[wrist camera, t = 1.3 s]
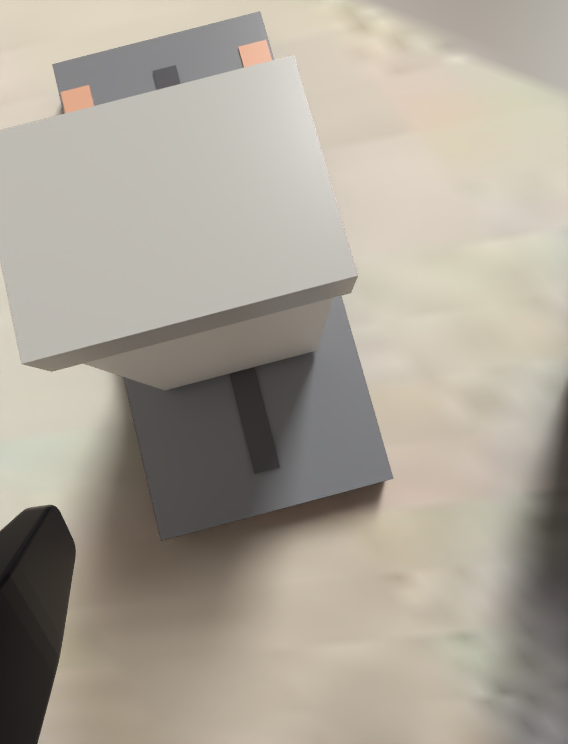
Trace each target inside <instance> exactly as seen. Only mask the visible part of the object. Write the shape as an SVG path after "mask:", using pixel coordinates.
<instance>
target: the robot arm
mask: <svg viewBox="0 0 568 744" xmlns="http://www.w3.org/2000/svg"><path fill="white" fill-rule="evenodd" d="M75 555H76V550H75V544H74V540H73V538H72V536H71V534H70V532H69V530H68V527H67V525H66V523H65V521H64V519H63V517H62V515H61V513H60V511H59V509H58V508H57V507H56V506H54V505H45V506H38V507H30V508H27V509H25V510H24V511H22V512H21V513H20V514H19V515H18V516H16V517H15V518H14V519H13V520H12V521H11V522H10V523H9V524H8V525H6V526H5V527H4V528H3V529H2V530H1V531H0V744H37V743H38V739H39V736H40V732H41V728H42V724H43V720H44V717H45V713H46V709H47V705H48V701H49V698H50V694H51V690H52V686H53V682H54V678H55V675H56V670H57V666H58V662H59V658H60V652H61V647H62V641H63V635H64V628H65V622H66V615H67V609H68V602H69V596H70V589H71V582H72V576H73V569H74V563H75Z"/></svg>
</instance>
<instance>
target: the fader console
mask: <svg viewBox="0 0 568 744" xmlns="http://www.w3.org/2000/svg"><path fill="white" fill-rule="evenodd" d="M272 60H274V58H273V54H272V51H271V47H270V44H269V40H268V37H267V33H266V30H265V26H264V23H263V19H262V16H261V12H256V13H252V14H248V15H244V16H240V17H236V18H232V19H228V20H224V21H221V22H217V23H213V24H209V25H205V26H201V27H197V28H193V29H189V30H185V31H181V32H177V33H173V34H169V35H166V36H162V37H158V38H154V39H150V40H146V41H142V42H138V43H134V44H130V45H126V46H122V47H118V48H114V49H111V50H107V51H103V52H99V53H95V54H91V55H87V56H83V57H79V58H75V59H71V60H67V61H63V62H60V63H56V64H52V65H53V69H54V74H55V78H56V82H57V87H58V91H59V96H60V100H61V104H62V109H63V113H64V114H65V113H69V112H73V111H77V110H81V109H85V108H88V107H92V106H96V105H100V104H104V103H108V102H112V101H116V100H120V99H124V98H128V97H131V96H135V95H139V94H143V93H147V92H151V91H155V90H159V89H163V88H167V87H170V86H174V85H178V84H182V83H186V82H190V81H194V80H198V79H202V78H206V77H210V76H213V75H217V74H221V73H225V72H229V71H233V70H237V69H241V68H245V67H249V66H253V65H256V64H260V63H264V62H268V61H272ZM124 381H125V385H126V390H127V394H128V398H129V403H130V407H131V412H132V416H133V420H134V425H135V429H136V433H137V438H138V442H139V447H140V451H141V455H142V460H143V464H144V469H145V473H146V477H147V482H148V486H149V491H150V495H151V499H152V504H153V508H154V512H155V517H156V521H157V526H158V530H159V534H160V539H161V541H163V540H167V539H170V538H174V537H178V536H181V535H185V534H189V533H193V532H196V531H200V530H204V529H208V528H211V527H215V526H219V525H222V524H226V523H230V522H234V521H237V520H241V519H245V518H249V517H252V516H256V515H260V514H263V513H267V512H271V511H275V510H278V509H282V508H286V507H290V506H293V505H297V504H301V503H305V502H308V501H312V500H316V499H319V498H323V497H327V496H331V495H334V494H338V493H342V492H346V491H349V490H353V489H357V488H360V487H364V486H368V485H372V484H375V483H379V482H383V481H387V480H390V479H393V475H392V472H391V468H390V465H389V461H388V458H387V454H386V451H385V447H384V444H383V440H382V437H381V433H380V430H379V426H378V423H377V419H376V416H375V412H374V409H373V405H372V402H371V398H370V395H369V391H368V388H367V384H366V381H365V377H364V374H363V370H362V367H361V363H360V360H359V356H358V353H357V349H356V346H355V342H354V339H353V335H352V332H351V328H350V325H349V321H348V318H347V314H346V311H345V307H344V304H343V300H342V297H341V296H337V297H333V299H332V303H331V306H330V309H329V313H328V316H327V320H326V323H325V326H324V330H323V333H322V336H321V340H320V343H319V347H318V350H317V351H313V352H309V353H305V354H302V355H298V356H294V357H290V358H286V359H283V360H279V361H275V362H271V363H267V364H264V365H260V366H256V367H252V368H249V369H245V370H241V371H237V372H233V373H230V374H226V375H222V376H218V377H215V378H211V379H207V380H203V381H199V382H196V383H192V384H188V385H184V386H180V387H177V388H173V389H169V390H162V389H159V388H156V387H153V386H150V385H147V384H144V383H141V382H138V381H134V380H131V379H128V378H125V377H124Z"/></svg>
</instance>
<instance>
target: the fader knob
mask: <svg viewBox="0 0 568 744" xmlns="http://www.w3.org/2000/svg"><path fill="white" fill-rule="evenodd" d="M0 262H1V267H2V272H3V277H4V282H5V286H6V291H7V296H8V301H9V306H10V311H11V316H12V321H13V326H14V330H15V335H16V340H17V345H18V350H19V355H20V360H21V364H24V365H28V366H32V367H36V368H40V369H43V370H47V371H51V372H52V371H56V370H60V369H63V368H67V367H71V366H75V365H79V364H82V363H83V364H86V365H89V366H92V367H95V368H98V369H101V370H104V371H107V372H110V373H113V374H116V375H119V376H122V377H125V378H128V379H131V380H134V381H138V382H141V383H144V384H147V385H150V386H153V387H156V388H159V389H162V390H169V389H173V388H177V387H180V386H184V385H188V384H192V383H196V382H199V381H203V380H207V379H211V378H215V377H218V376H222V375H226V374H230V373H233V372H237V371H241V370H245V369H249V368H252V367H256V366H260V365H264V364H267V363H271V362H275V361H279V360H283V359H286V358H290V357H294V356H298V355H302V354H305V353H309V352H313V351H317V350H318V347H319V343H320V340H321V336H322V333H323V330H324V326H325V323H326V320H327V316H328V313H329V309H330V306H331V303H332V299H333V297H337V296H341V295H345V294H349V293H351V291H352V289H353V286H354V284H355V282H356V279H357V277H358V274H357V270H356V267H355V263H354V260H353V256H352V253H351V250H350V246H349V243H348V239H347V236H346V232H345V229H344V226H343V222H342V219H341V215H340V212H339V208H338V205H337V201H336V198H335V195H334V191H333V188H332V184H331V181H330V177H329V174H328V170H327V167H326V164H325V160H324V157H323V153H322V150H321V146H320V143H319V139H318V136H317V133H316V129H315V126H314V122H313V119H312V115H311V112H310V108H309V105H308V102H307V98H306V95H305V91H304V88H303V84H302V81H301V77H300V74H299V71H298V67H297V64H296V60H295V57H294V55H292V56H288V57H284V58H280V59H276V60H272V61H268V62H264V63H260V64H256V65H253V66H249V67H245V68H241V69H237V70H233V71H229V72H225V73H221V74H217V75H213V76H210V77H206V78H202V79H198V80H194V81H190V82H186V83H182V84H178V85H174V86H170V87H167V88H163V89H159V90H155V91H151V92H147V93H143V94H139V95H135V96H131V97H128V98H124V99H120V100H116V101H112V102H108V103H104V104H100V105H96V106H92V107H88V108H85V109H81V110H77V111H73V112H69V113H65V114H61V115H57V116H53V117H49V118H45V119H42V120H38V121H34V122H30V123H26V124H22V125H18V126H14V127H10V128H6V129H3V130H0Z"/></svg>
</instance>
